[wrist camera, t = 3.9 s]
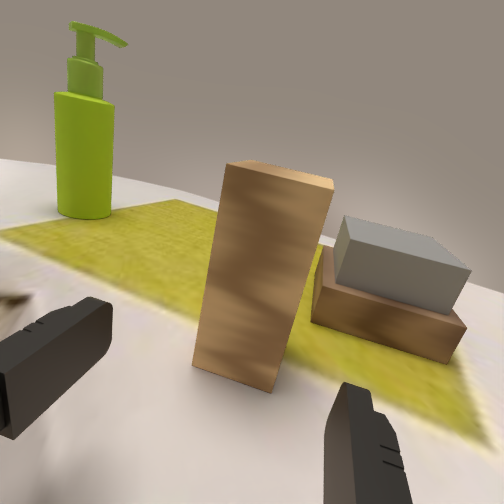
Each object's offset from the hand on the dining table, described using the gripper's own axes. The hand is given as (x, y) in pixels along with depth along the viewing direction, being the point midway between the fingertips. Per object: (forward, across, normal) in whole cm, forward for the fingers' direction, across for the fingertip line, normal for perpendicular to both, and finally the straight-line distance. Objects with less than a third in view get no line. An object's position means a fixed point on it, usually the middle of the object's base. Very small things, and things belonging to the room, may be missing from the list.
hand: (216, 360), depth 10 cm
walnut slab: (+20, -10, +7) cm, 24 cm away
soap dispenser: (+24, +25, +7) cm, 36 cm away
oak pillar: (+8, 0, +6) cm, 11 cm away
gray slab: (+20, -10, +3) cm, 23 cm away
